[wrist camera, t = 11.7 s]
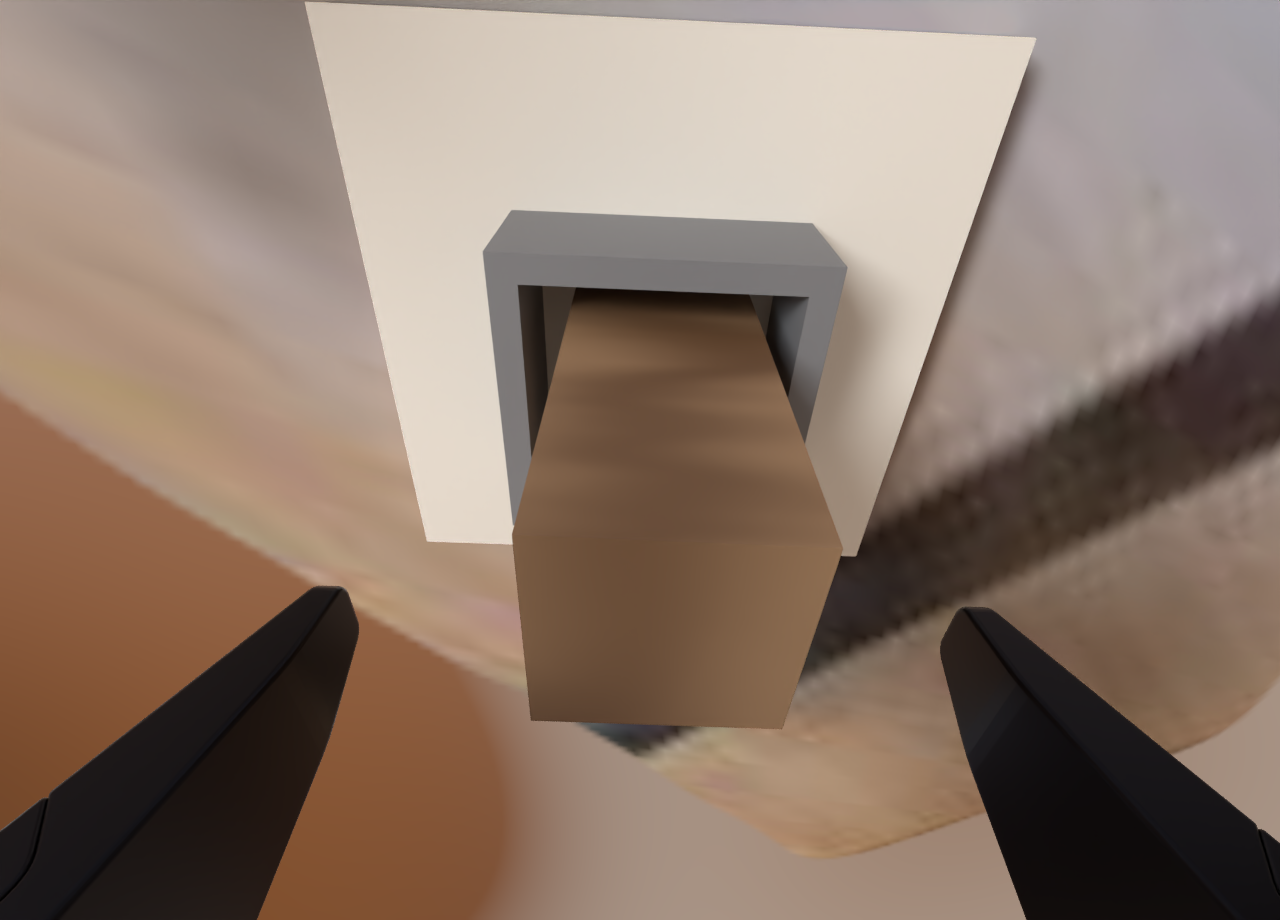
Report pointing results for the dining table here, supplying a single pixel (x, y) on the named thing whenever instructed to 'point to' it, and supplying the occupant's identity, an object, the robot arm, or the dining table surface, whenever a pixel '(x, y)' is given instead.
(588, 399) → the wooden peg
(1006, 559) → the dining table surface
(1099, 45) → the dining table surface
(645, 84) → the thin cream square plate
